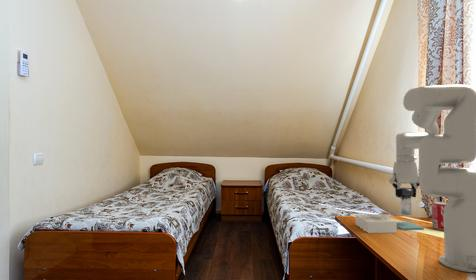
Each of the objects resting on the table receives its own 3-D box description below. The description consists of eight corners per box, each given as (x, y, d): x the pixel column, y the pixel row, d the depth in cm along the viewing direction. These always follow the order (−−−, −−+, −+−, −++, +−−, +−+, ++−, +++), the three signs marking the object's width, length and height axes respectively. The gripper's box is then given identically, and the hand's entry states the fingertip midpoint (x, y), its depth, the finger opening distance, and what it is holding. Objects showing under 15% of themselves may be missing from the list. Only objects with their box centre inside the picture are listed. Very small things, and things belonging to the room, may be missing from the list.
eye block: (396, 232, 132) (396, 221, 132) (367, 233, 131) (367, 221, 132) (381, 224, 145) (381, 214, 145) (355, 225, 144) (355, 214, 145)
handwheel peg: (408, 212, 144) (408, 187, 144) (416, 215, 138) (416, 189, 138) (395, 212, 144) (395, 187, 144) (403, 215, 138) (402, 189, 138)
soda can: (453, 229, 136) (453, 203, 136) (446, 232, 132) (446, 205, 132) (436, 225, 142) (435, 200, 142) (429, 228, 138) (429, 202, 138)
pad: (423, 229, 136) (423, 227, 136) (402, 230, 135) (402, 227, 135) (410, 223, 146) (410, 221, 146) (390, 224, 145) (390, 222, 145)
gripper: (418, 158, 145) (418, 195, 145) (383, 159, 145) (383, 195, 144) (428, 159, 137) (429, 198, 137) (391, 160, 137) (392, 198, 137)
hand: (405, 196), depth 141 cm, fingers closed on handwheel peg, 6 cm apart
